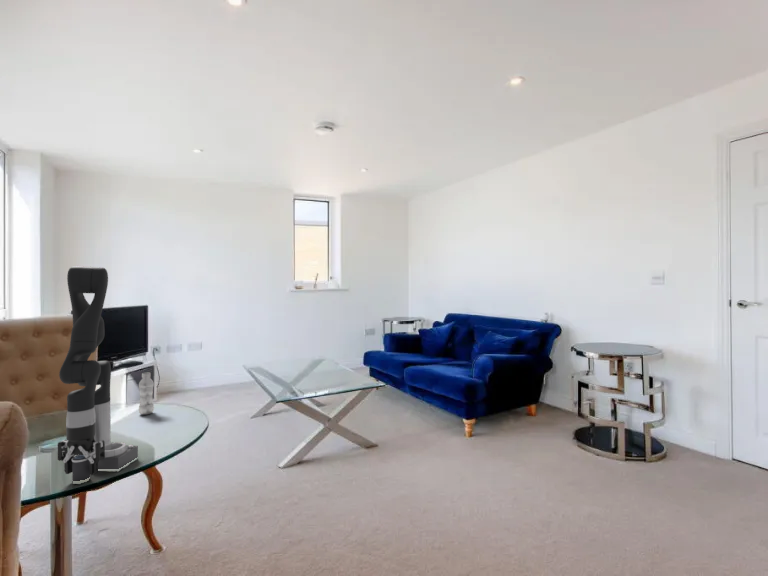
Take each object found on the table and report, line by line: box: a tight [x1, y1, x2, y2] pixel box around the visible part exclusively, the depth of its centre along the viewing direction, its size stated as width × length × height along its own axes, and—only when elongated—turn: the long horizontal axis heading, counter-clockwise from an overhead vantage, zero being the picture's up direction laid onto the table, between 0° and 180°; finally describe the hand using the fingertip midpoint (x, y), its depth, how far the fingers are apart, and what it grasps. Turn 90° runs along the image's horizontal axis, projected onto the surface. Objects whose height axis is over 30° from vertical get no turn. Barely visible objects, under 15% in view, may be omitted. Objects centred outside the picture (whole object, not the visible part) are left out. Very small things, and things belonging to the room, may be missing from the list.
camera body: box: [90, 441, 139, 469], centre depth 141 cm, size 10×10×7 cm
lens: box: [71, 455, 91, 482], centre depth 129 cm, size 5×5×8 cm
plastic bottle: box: [138, 371, 155, 416], centre depth 195 cm, size 6×7×20 cm
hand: (81, 473), depth 129 cm, fingers open, 7 cm apart
